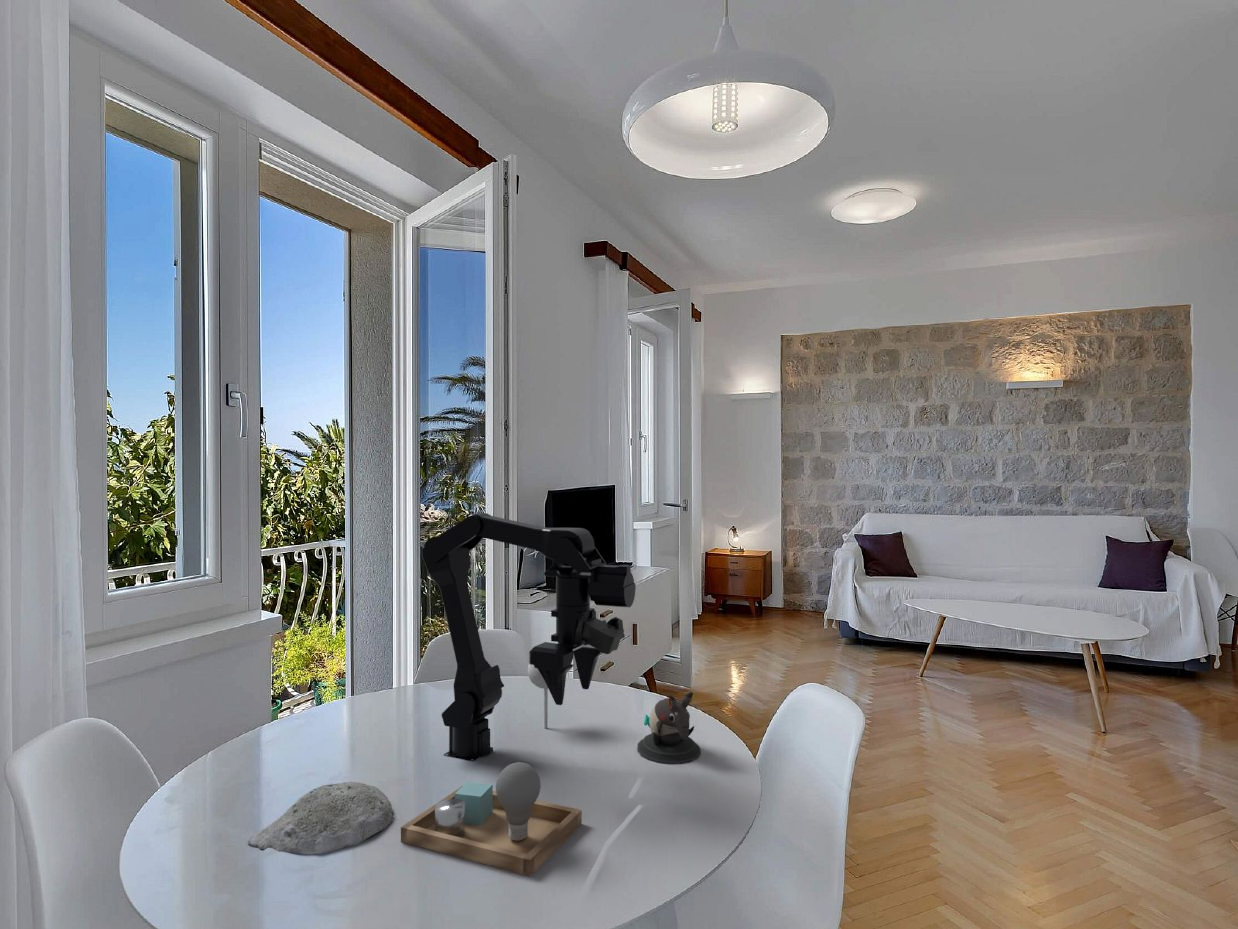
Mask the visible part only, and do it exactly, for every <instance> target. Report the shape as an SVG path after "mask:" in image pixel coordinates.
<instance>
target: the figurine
mask: <svg viewBox="0 0 1238 929" xmlns="http://www.w3.org/2000/svg"><path fill="white" fill-rule="evenodd" d="M693 695H694V692H691V691H690V692H688V693H686V694H685V695H683V697H682V699H681V700H678V699H677V698H675V697H674V696H673V695H671V694H670V695H668V697H666V698H664V699H661V700H659V701H658V702H657V703H655V705H654V706H653V707H652V709H651V712H650V715H648V714H645V715H644V717H645V718H644V721H643V724H644V726H648V727H649V728H650V732H651V733H649V734H646V735H645V736H644V737H643V738H641V739H640V740H639V742H638V743H637V748H636V751H637V752H638V754H639V755H640V756H641V757H642V758H644V759H646V760H647V761H650V762H654V763H657V764H663V765H664V764H665V765H682V764H687V763H691V762H694V761H695V760H698V758H699V757H700V756H701V753H702V751H701V747H700V745H699V744H698V743H697V742H695V741H694V740H693V739H692V737H689V736H690V735H691V734H692V733H693V731H694V730H695V725H693V726H692V727H691V728H690V718H691V714H690V712H689V711H688V709H687V708H688V707H689V705H690V703H691V701H692V699H693Z"/></svg>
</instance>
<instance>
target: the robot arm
mask: <svg viewBox="0 0 1238 929" xmlns="http://www.w3.org/2000/svg"><path fill="white" fill-rule="evenodd" d="M484 539H488V540H491V541H496V542H499V543H504V544H508V545H513V546H517V547H521V548H525V549H529V550H534V551H536V552H539V553H540V554H541V555H542V556H544V557H545V558H547V559H549V560H552V561H553V563H552V564H551V566H550V567H549V568H548V569H547V570H545V571H544V572H543V575H544V576H545V577H554V578H555V577H556V578H555V579H556V580H555V582H556V583H555V590H556V591H555V609H552V610H551V611H550V617H552V618H555V633H553V634H551V636H550V642H548V641H544V642H542V643H539V644H538V645H535V646H533V647H532V648H531V650H530V651H529V653H528V654H529V655H528V656H529V657H528V659H529V661H528V662H529V663H530V665H534V668H537V669H538V670H539V672H540V674H541V675H542V677H543V679H544V681H545V683H546V685H547V687H548V691H549V692H550V694H551V697H552V700H553V701H554V703H555V705H557V706H562V705H563V704H564V697H565V692H566V691H565V690H566V678H567V673H568V672H569V671H570V670H571V669H572V668H573V667H574V664H572V662H573V660H574V661H575V665H576V670H577V673H578V678H579V682H580V685H581V688H582V689H583V690H589V689H590V686H591V683H592V678H593V675H594V672H595V668H596V665H597V661H598V659H599V657H600V656H601V655H602V654H604V655H610V654H612V652H613V651H617V650H618V648H619V645H620V643H621V640H623V639H624V638H625V636H626V635H625V629H624V623H623V619H621V618H619V617H617V616H614V617H612V618H610V619H609V620H608V621H607V620H606V619H604V620H601V619H598V618H597V611H596V610H595V607H594V608H593V607H591V602H594V604H595V605H596V606H601V607H603V606H605V607H617V608H618V607H619V608H620V607H621V608H631V607H632V606H633V604H634V600H635V597H636V586H637V585H636V583H635V579H634V575H633V573H632V571H631V565H630V564H622V565H610V564H609V565H608V563H607V561H606V560H605V559H604V558H603V556H602V555H601V553H600V551H599V550H598V549H597V547H596V546H595V540H594V537H593V535H592V534H591V532H590V531H589V530H588V529H586V528H583V527H545V526H544V527H543V526H539V525H535V524H532V523H530V524H529V523H526V522H521V521H516V520H511V519H508V518H507V519H506V518H504V517H499V516H495V515H491V514H489V513H487V512H486V513H485V512H479V513H472V514H469V515H468V516H466V517H465V518H464V519H463V520H462V521H461V522H459V523H457V524H455V525H454V526H452V527H450V528H448V529H446V530H445V531H443V532H441V533H440V534H439V535H435V536H431V537H429V538H428V539H427V540H426V541H425V543H424V545H423V546H422V547H421V556H422V560H423V562H424V565H425V568H426V571H427V573H428V575H429V576H430V577H431V578H432V579H433V581H434V582H435V584H436V585H438V588H439V590H440V595H441V599H442V603H443V608H444V613H445V617H446V621H447V626H448V631H449V635H450V638H451V640H450V641H451V644H452V649H453V653H454V658H455V662H456V672H455V676H454V681H453V696H454V700H453V701H452V702H451V703H450V705H448V707H447V708H445V709H444V711H443V712H442V713H441V718H442V721H443V724H444V726H445V727H448V729H449V730H448V743H449V744H448V751H447V752H445V753H444V754H443V756H444V757H448V758H454V759H458V760H463V761H467V762H468V761H469V762H474V761H476V760H478V759H480V758H485V757H486V756H487V755H489V754H491V753H492V752H493V751H494V747H493V746H491V728H489V718H486V717H488V716H489V715H492V714H493V712H494V709H495V706H497V704H499V702H500V701H501V698H503V689H502V688H504V687H505V684H504V683H503V681H502V678H501V671H500V669H501V668H500V665H499V664H495V665H492V666H491V664H490V663H489V662H488V661H487V660H486V658H485V654H484V650H483V646H482V641H481V637H480V632H479V629H478V624H477V620H476V615H475V612H474V607H473V603H472V598H471V594H470V589H469V586H468V575H469V571H470V568H471V556H470V554H471V553H470V552H471V551H472V550H474V549H475V548H476V547H477V546H479V544H480V543H481V542H482V541H483V540H484ZM529 663H528V664H529Z"/></svg>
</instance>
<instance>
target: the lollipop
mask: <svg viewBox="0 0 1238 929" xmlns="http://www.w3.org/2000/svg"><path fill="white" fill-rule="evenodd" d="M527 676H528V679H529V681H530V682H531V683H532V684H533V685H534V686H535V687H537V688H539V689H544V690H543V694H544V695H543V699H544V700H543V701H544V702H543V703H544V704H543V705H544V706H543V707H544V710H543V711H544V712H543V719H544V720H543V724H544V725H543V729H547V730H548V716H549V715H548V713H549V712H548V703H549V702H548V696H549V695H548V694H549V693H548V691H549V689H548V687H547V685H546V683H545V681H544V679H543V677H542V675H541V674H540V672H539V670H538V669H537V668H534V665H530V663H528V666H527Z"/></svg>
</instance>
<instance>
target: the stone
mask: <svg viewBox="0 0 1238 929" xmlns="http://www.w3.org/2000/svg"><path fill="white" fill-rule="evenodd" d="M392 812H393V806H392V803H391V801H390V800H389V799H388V796H387V795H385V794H384V792H383V791H382V790H380V789H379V788H378V787H377V786H374V785H369V784H367V783H363V782H360V781H359V782H356V781H345V782H340V783H330V784H329V783H328V784H322V785H320V786H318V787H315V788H314V789H312V790H309V791H308V792H307V793H305V794H304V795H302V796H300V797H298V799H297V800H296V801H295V802H294V803H293V804H292V805H291V806H290V807H289V808H287V809H286V811H285V812H284V813H283V814H281V816H280V817H278V818H277V819H276V820H274V821H273V822H272V823H271V824H269V825H267V826H266V827H265V828H263V829H261V830H260V831H258V832H257V833H256V834H255V835H253V836H251V838H249V839H248V841H247V843H248V844H249V845H250V846H251V847H254V848H258V849H259V850H267V849H268V848H270V849H273V850H275V851H276V852H278V853H279V852H281V853H283V852H284V853H290V854H295V855H318V854H319V855H321V854H325V853H328V852H329V853H330V852H333V851H337V850H340V849H344V848H347V847H351V846H352V847H353V846H355V845H358V844H360V843H363V842H364V841H366V840H368V839H369V838H370V837H372V836H374V835H376V834H377V833H379V832H380V831H382V830H385V829H386V828H387V827H388V826H389V825H390V824H391V823H392V822H393V821H394V820H395V819H396V818H395V815H394V814H392Z"/></svg>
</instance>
